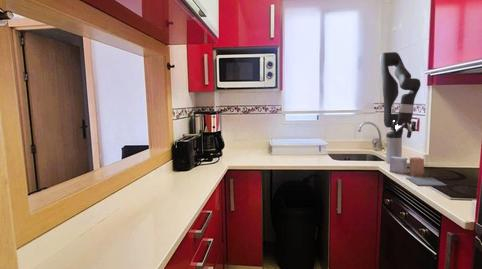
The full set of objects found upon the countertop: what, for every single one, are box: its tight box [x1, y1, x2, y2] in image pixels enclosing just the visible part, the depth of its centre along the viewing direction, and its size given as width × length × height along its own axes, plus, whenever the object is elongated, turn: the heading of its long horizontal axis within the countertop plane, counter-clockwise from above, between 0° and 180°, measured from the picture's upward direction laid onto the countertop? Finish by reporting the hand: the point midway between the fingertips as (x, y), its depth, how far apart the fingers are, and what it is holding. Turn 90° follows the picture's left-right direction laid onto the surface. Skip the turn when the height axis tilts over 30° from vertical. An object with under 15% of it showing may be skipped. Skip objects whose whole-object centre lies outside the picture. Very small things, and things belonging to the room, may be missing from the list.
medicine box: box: [389, 156, 408, 174], centre depth 162 cm, size 8×4×9 cm, turn 41°
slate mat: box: [405, 177, 447, 187], centre depth 142 cm, size 13×13×1 cm
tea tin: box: [408, 156, 425, 178], centre depth 153 cm, size 5×5×10 cm
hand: (401, 137), depth 170 cm, fingers open, 8 cm apart
